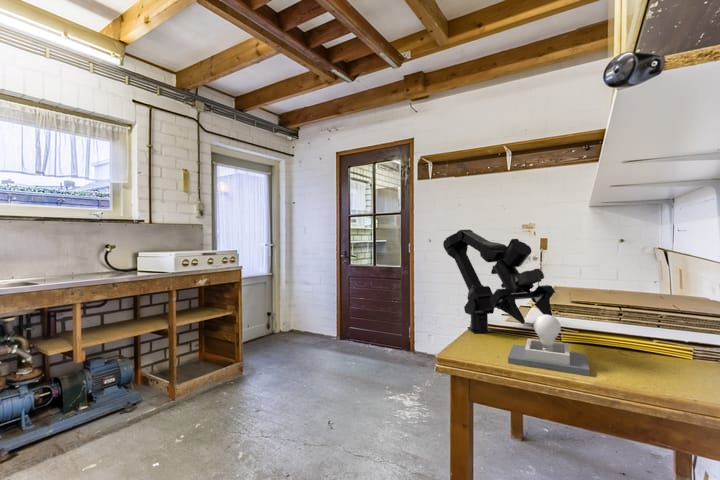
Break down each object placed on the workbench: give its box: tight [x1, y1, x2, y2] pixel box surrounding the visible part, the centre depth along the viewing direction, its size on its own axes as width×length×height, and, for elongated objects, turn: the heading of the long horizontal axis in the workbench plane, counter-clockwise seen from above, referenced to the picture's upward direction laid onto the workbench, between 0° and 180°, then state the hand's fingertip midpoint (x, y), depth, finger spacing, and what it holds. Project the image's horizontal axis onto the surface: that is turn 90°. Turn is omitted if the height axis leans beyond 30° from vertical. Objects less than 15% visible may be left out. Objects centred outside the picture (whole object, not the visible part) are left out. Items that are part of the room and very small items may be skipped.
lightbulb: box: [533, 313, 562, 352], centre depth 90 cm, size 6×6×11 cm
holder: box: [507, 338, 591, 377], centre depth 90 cm, size 18×12×4 cm, turn 59°
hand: (537, 321), depth 93 cm, fingers open, 9 cm apart
